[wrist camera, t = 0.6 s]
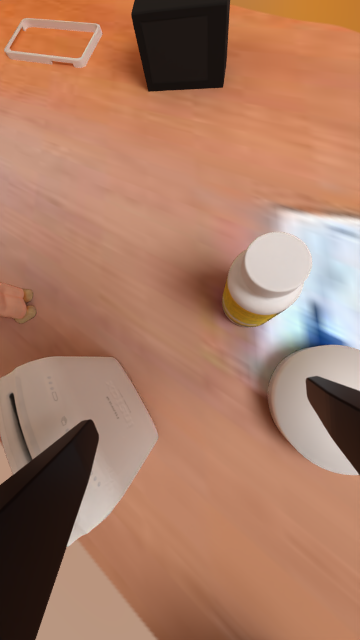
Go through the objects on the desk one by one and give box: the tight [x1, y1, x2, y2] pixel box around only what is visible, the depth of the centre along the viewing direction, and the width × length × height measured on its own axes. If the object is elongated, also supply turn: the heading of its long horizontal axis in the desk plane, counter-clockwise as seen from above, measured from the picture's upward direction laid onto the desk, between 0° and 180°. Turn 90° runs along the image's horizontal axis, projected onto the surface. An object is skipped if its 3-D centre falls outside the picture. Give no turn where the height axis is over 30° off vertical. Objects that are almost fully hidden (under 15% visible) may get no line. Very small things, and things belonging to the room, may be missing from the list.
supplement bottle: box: [222, 232, 312, 327], centre depth 18 cm, size 5×5×10 cm
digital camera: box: [132, 0, 230, 91], centre depth 26 cm, size 10×5×7 cm, turn 82°
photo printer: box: [0, 356, 158, 547], centre depth 16 cm, size 10×4×12 cm, turn 33°
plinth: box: [268, 345, 360, 475], centre depth 19 cm, size 10×10×2 cm
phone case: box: [4, 18, 102, 68], centre depth 34 cm, size 7×1×15 cm
